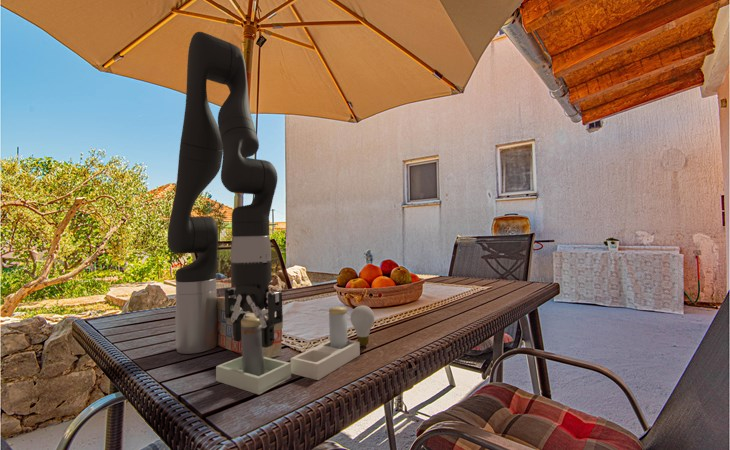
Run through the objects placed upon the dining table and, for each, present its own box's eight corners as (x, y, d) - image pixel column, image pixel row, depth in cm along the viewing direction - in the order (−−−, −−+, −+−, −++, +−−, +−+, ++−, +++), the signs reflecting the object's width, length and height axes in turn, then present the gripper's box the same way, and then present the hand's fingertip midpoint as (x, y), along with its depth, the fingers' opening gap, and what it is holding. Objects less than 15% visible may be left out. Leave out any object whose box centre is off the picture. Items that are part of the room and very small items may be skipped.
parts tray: (216, 380, 66) (216, 366, 66) (249, 366, 73) (249, 353, 73) (258, 394, 60) (258, 378, 60) (291, 377, 66) (290, 363, 67)
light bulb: (372, 351, 80) (371, 308, 80) (348, 350, 81) (347, 308, 82) (377, 343, 86) (375, 303, 86) (354, 342, 87) (353, 303, 87)
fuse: (326, 358, 76) (325, 309, 76) (337, 353, 79) (336, 305, 80) (341, 361, 74) (339, 311, 74) (351, 355, 77) (350, 307, 78)
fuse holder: (290, 373, 69) (290, 358, 69) (335, 350, 81) (334, 337, 81) (317, 380, 65) (317, 364, 65) (359, 355, 78) (359, 341, 78)
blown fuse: (238, 377, 66) (236, 320, 66) (254, 370, 69) (253, 315, 69) (252, 382, 63) (250, 322, 64) (268, 374, 67) (266, 317, 67)
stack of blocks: (282, 355, 79) (283, 302, 80) (258, 362, 74) (260, 305, 76) (236, 339, 93) (238, 294, 94) (213, 344, 89) (216, 296, 90)
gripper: (211, 260, 67) (213, 343, 67) (261, 261, 60) (263, 355, 59) (243, 257, 74) (244, 333, 73) (291, 258, 66) (293, 343, 66)
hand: (253, 343), depth 66 cm, fingers open, 7 cm apart
